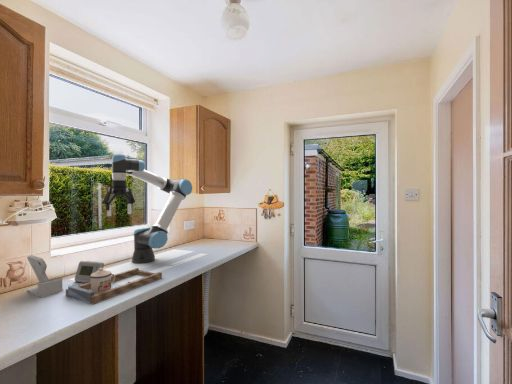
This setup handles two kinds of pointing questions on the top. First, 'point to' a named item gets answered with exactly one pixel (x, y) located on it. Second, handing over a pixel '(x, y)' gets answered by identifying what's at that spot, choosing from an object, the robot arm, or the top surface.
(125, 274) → the open rectangular wooden frame
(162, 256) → the top surface
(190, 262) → the top surface
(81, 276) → the digital clock
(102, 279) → the teacup with lid
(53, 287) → the phone holder
